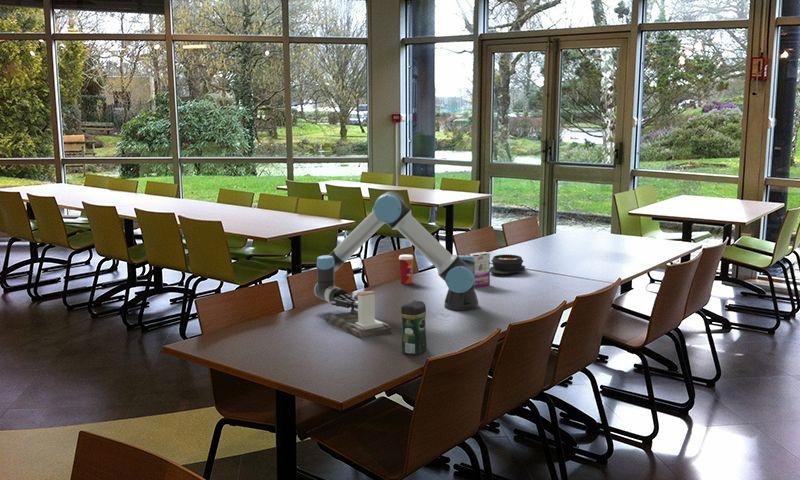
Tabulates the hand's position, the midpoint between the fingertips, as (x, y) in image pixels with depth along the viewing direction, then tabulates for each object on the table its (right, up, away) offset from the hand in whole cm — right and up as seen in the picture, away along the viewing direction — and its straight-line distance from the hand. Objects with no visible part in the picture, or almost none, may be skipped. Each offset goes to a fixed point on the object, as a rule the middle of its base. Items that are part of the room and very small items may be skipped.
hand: (364, 308), depth 313 cm
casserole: (+72, +10, +105) cm, 127 cm away
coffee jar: (+20, -14, -27) cm, 36 cm away
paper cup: (+18, +5, +83) cm, 85 cm away
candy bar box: (+53, +4, +75) cm, 92 cm away
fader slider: (+2, -7, -2) cm, 8 cm away
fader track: (-3, -8, +6) cm, 11 cm away
